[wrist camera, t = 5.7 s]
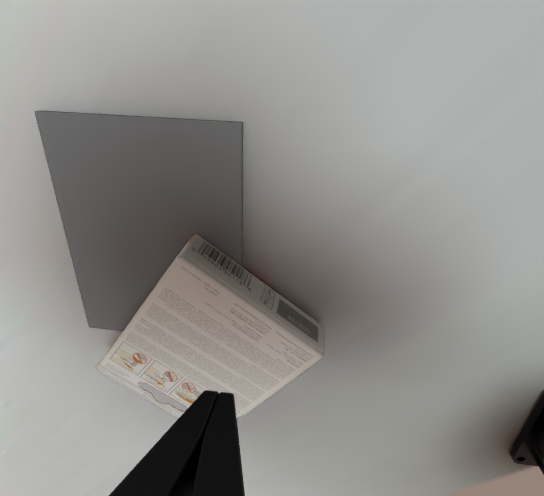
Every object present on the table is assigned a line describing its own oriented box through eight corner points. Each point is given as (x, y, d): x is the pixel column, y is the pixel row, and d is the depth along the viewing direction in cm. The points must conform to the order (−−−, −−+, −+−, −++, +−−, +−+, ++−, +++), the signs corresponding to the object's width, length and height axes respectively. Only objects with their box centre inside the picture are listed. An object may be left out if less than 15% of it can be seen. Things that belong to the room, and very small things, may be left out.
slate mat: (241, 339, 21) (240, 343, 20) (92, 323, 22) (89, 327, 21) (242, 122, 15) (241, 122, 15) (40, 110, 16) (34, 111, 16)
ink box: (329, 325, 19) (224, 402, 25) (197, 228, 17) (117, 336, 23) (328, 366, 16) (212, 440, 22) (174, 258, 15) (90, 370, 20)
